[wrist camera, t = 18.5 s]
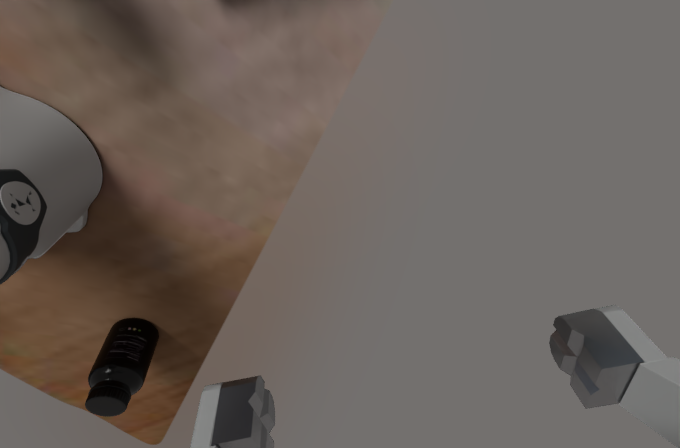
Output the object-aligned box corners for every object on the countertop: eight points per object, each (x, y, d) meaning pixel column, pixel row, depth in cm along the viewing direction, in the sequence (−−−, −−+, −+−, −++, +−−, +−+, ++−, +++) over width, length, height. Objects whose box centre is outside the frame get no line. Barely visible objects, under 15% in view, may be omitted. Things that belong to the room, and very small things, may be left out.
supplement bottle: (156, 348, 61) (130, 424, 51) (109, 340, 58) (73, 418, 49) (163, 321, 57) (137, 396, 47) (114, 312, 55) (76, 389, 45)
